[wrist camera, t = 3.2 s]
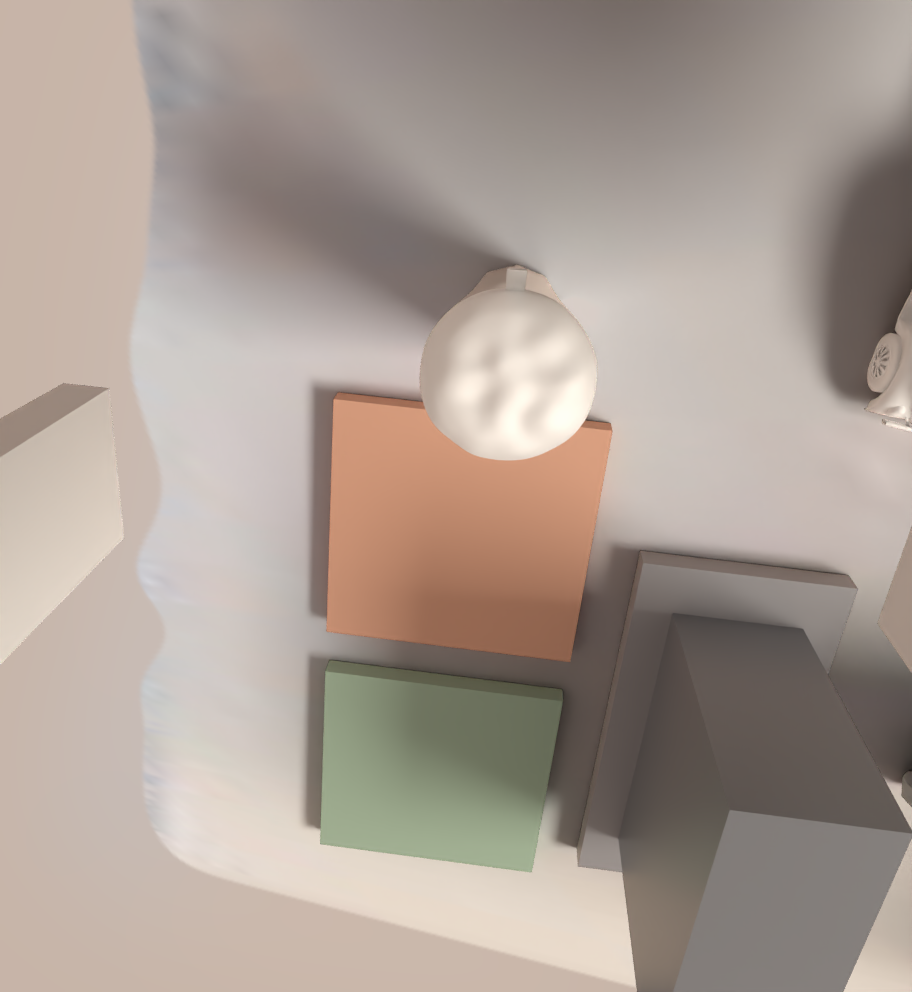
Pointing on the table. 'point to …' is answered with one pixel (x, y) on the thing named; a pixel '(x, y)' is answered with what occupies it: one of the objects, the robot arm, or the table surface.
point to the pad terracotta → (457, 533)
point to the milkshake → (508, 368)
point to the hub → (739, 783)
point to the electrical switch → (907, 787)
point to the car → (894, 372)
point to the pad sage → (436, 764)
